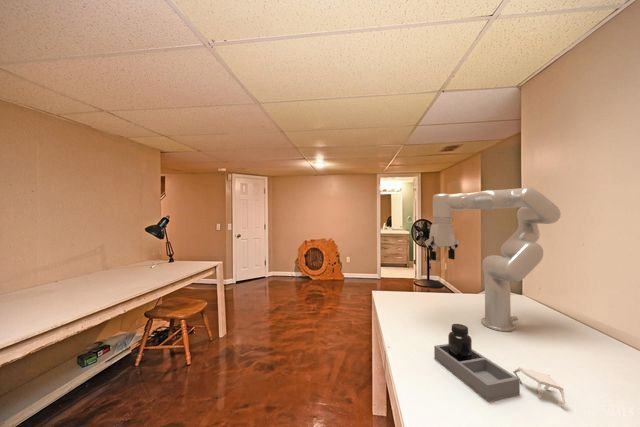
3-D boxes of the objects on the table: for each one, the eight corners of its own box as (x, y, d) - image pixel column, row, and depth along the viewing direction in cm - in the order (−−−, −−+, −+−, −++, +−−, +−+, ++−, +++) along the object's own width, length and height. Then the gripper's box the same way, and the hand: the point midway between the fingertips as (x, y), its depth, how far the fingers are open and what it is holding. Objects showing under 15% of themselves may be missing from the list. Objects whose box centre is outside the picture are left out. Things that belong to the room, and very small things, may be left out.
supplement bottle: (475, 369, 80) (475, 332, 80) (452, 367, 81) (451, 330, 81) (467, 357, 87) (467, 322, 87) (445, 355, 88) (445, 321, 88)
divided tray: (460, 354, 91) (460, 341, 91) (519, 395, 70) (519, 378, 70) (434, 358, 88) (434, 345, 88) (487, 402, 68) (487, 385, 68)
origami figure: (569, 396, 70) (569, 378, 70) (564, 412, 64) (564, 392, 64) (515, 375, 79) (515, 359, 79) (508, 387, 74) (507, 370, 74)
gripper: (452, 221, 119) (452, 257, 119) (420, 221, 114) (420, 259, 114) (464, 221, 111) (465, 260, 111) (431, 221, 107) (431, 262, 107)
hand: (442, 259), depth 113 cm, fingers open, 9 cm apart
